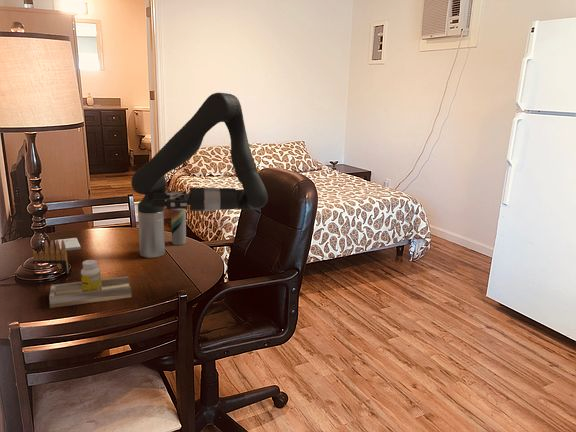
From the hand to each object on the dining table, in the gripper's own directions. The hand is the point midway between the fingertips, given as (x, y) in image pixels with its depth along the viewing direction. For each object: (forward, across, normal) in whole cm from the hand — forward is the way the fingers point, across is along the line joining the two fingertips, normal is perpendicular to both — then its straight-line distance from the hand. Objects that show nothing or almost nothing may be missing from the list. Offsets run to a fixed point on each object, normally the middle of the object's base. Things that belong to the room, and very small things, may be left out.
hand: (152, 199), depth 140 cm
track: (+18, +7, +28) cm, 34 cm away
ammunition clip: (+34, -13, +28) cm, 46 cm away
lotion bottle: (-8, -41, +28) cm, 50 cm away
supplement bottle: (+18, +6, +27) cm, 33 cm away
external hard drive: (+35, -43, +29) cm, 62 cm away
